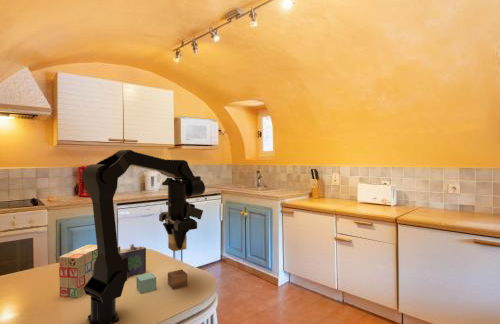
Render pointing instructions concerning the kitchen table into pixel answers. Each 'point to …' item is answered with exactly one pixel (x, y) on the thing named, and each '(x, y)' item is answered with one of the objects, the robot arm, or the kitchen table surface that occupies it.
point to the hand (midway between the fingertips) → (177, 246)
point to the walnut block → (177, 279)
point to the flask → (135, 260)
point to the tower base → (146, 282)
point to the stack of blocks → (77, 270)
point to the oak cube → (173, 245)
